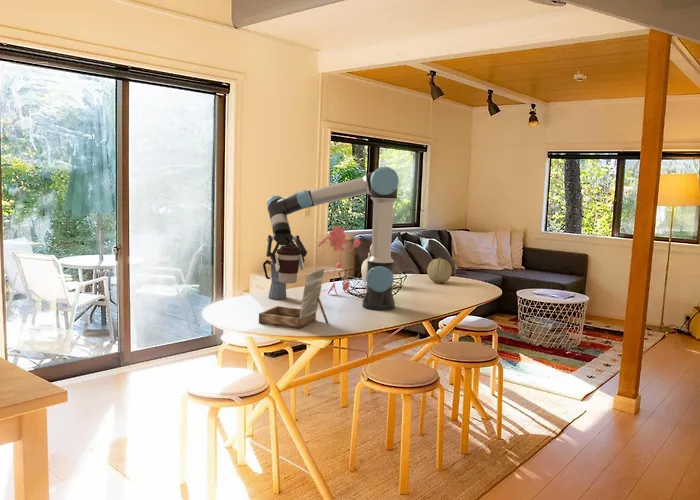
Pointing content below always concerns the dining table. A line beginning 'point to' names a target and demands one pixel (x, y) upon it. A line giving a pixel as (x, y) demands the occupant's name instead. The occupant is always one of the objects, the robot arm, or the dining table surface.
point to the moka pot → (275, 283)
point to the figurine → (337, 240)
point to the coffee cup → (288, 263)
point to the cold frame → (294, 315)
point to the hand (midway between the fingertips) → (290, 269)
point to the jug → (365, 266)
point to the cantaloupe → (439, 270)
